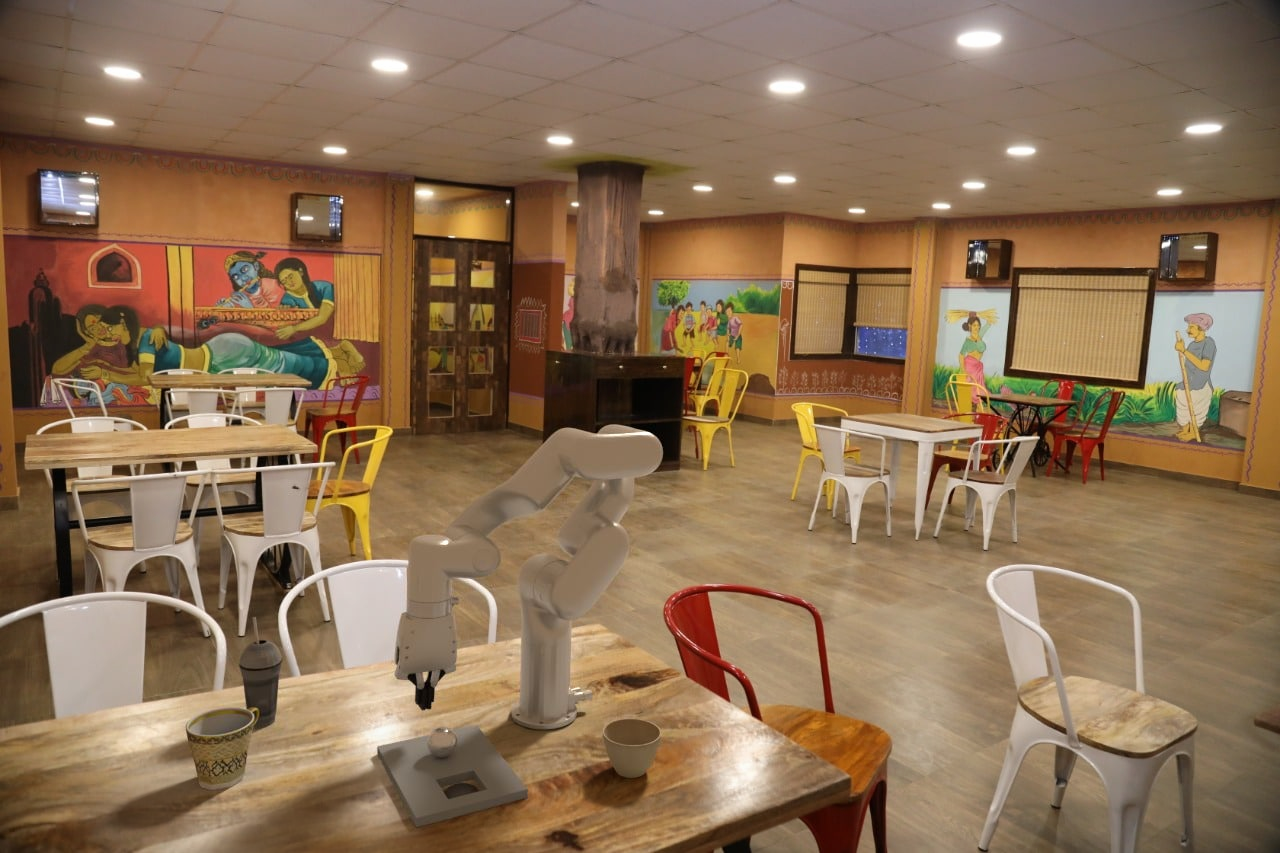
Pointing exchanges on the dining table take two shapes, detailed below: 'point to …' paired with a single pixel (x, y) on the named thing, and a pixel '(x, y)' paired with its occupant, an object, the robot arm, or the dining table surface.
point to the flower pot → (631, 745)
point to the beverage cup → (261, 678)
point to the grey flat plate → (450, 777)
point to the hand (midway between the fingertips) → (424, 706)
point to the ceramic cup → (221, 745)
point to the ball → (442, 742)
